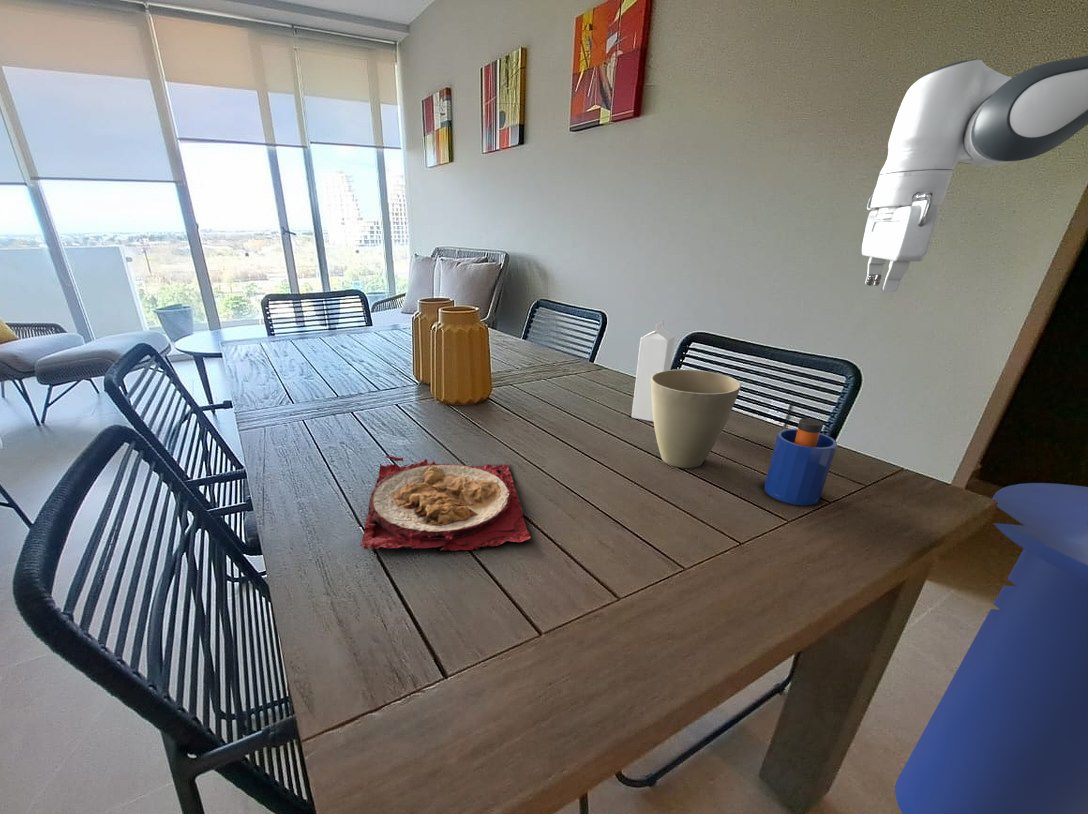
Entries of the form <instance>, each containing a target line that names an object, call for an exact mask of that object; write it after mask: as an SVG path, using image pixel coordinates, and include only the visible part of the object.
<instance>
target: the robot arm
mask: <svg viewBox="0 0 1088 814" xmlns="http://www.w3.org/2000/svg"><path fill="white" fill-rule="evenodd" d="M1087 125H1088V55H1083V56H1078V57H1072V58H1071V57H1070V58H1066V59H1059V60H1055V61H1050V62H1046V63H1041V64H1039V65H1035V66H1033V67H1030V68H1028V69H1026V70H1023V71H1022V72H1020V73H1018V74H1017V75H1014V76H1008V75H1006V74H1003V73H1000V72H999V71H996V70H994V69H993V68H991V67H989V66H987V65H986V64H985V63H984V61H983V60H981V59H975V58H973V59H965V60H959V61H956V62H952V63H949V64H946V65H943V66H940V67H937V68H935V69H933V70H930V71H928V72H927V73H925V74H923V75H922V76H921V77H919V78H918V79H917V80H916V81H915V82H914V83H913V84H912V85H910V87H909V88H908V89H907V91H906V93H905V94H904V97H903V98H902V101H901V103H900V106H899V108H898V112H897V114H896V117H895V119H894V122H893V126H892V129H891V132H890V136H889V139H888V142H887V150H888V151H887V157H886V160H885V162H884V165H883V166H882V168H881V170H880V171H879V174H878V178H877V180H876V185H875V188H874V191H873V193H872V194H871V196H870V197H869V198H868V203H867V206H866V210H867V211H870V212H869V213H868V216H867V220H866V224H865V229H864V234H863V239H862V243H861V255H862V256H863V257H868V261H867V273H866V274H867V275H866V277H865V282H864V284H865V285H866V286H868V287H877V286H879V285H880V284H881V286H880V290H881V291H883V292H887V293H893V292H896V291H897V290H898V288H899V286H900V282H901V280H902V279H903V277H904V275H906V273H907V271H908V269H909V266H910V263H911V262H921V261H923V260H924V258H925V257H926V255H927V254H928V252H929V249H930V246H931V242H932V239H933V236H934V231H935V228H936V224H937V220H938V215H939V207H941V206H942V205H943V203H944V200H945V197H946V194H947V191H948V188H949V185H950V183H951V180H952V177H953V173H954V171H955V167H956V166H957V164H966V165H973V166H978V167H983V168H984V167H986V168H989V167H990V168H991V167H997V166H998V167H999V166H1002V165H1007V164H1010V163H1014V162H1018V161H1025V160H1029V159H1032V158H1035V157H1039V156H1041V155H1044V154H1046V153H1048V152H1050V151H1052V150H1053V149H1055V148H1057V147H1059V146H1060V145H1062V144H1063V143H1065V142H1066V141H1068V140H1069V139H1071V138H1072V137H1073V136H1074V135H1076V134H1077V133H1078V132H1080V131H1081V130H1082V129H1084V128H1085V127H1086V126H1087ZM886 260H887V261H889V264H888V271H887V273H886V276H885V278H883V275H882V273H883V268H884V265H885V264H886V262H887V261H886ZM882 278H883V280H882ZM881 280H882V283H881Z"/></svg>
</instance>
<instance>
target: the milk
mask: <svg viewBox="0 0 1088 814" xmlns="http://www.w3.org/2000/svg"><path fill="white" fill-rule="evenodd" d="M664 324H665V320H661V321H660V322H658V323H656V324H655V329H654V330H653V331H651V332H649V333H647V334H645V335H643V336H642V337H640V341H639V350H638V359H637V367H636V374H635V375H636V376H635V385H634V394H633V400H632V408H631V418H632V419H638V420H642V421H648V422H653V423H654V421H653V412H652V399H651V377H652V375H654V374H655V373H658V372H661V371H667V370H671V368H672V367H671V366H672V361H673V353H674V348H675V340H676V335H674V334H673V333H672V332H670V331H669V330H668V329H666V328H665V327H664Z"/></svg>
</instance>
